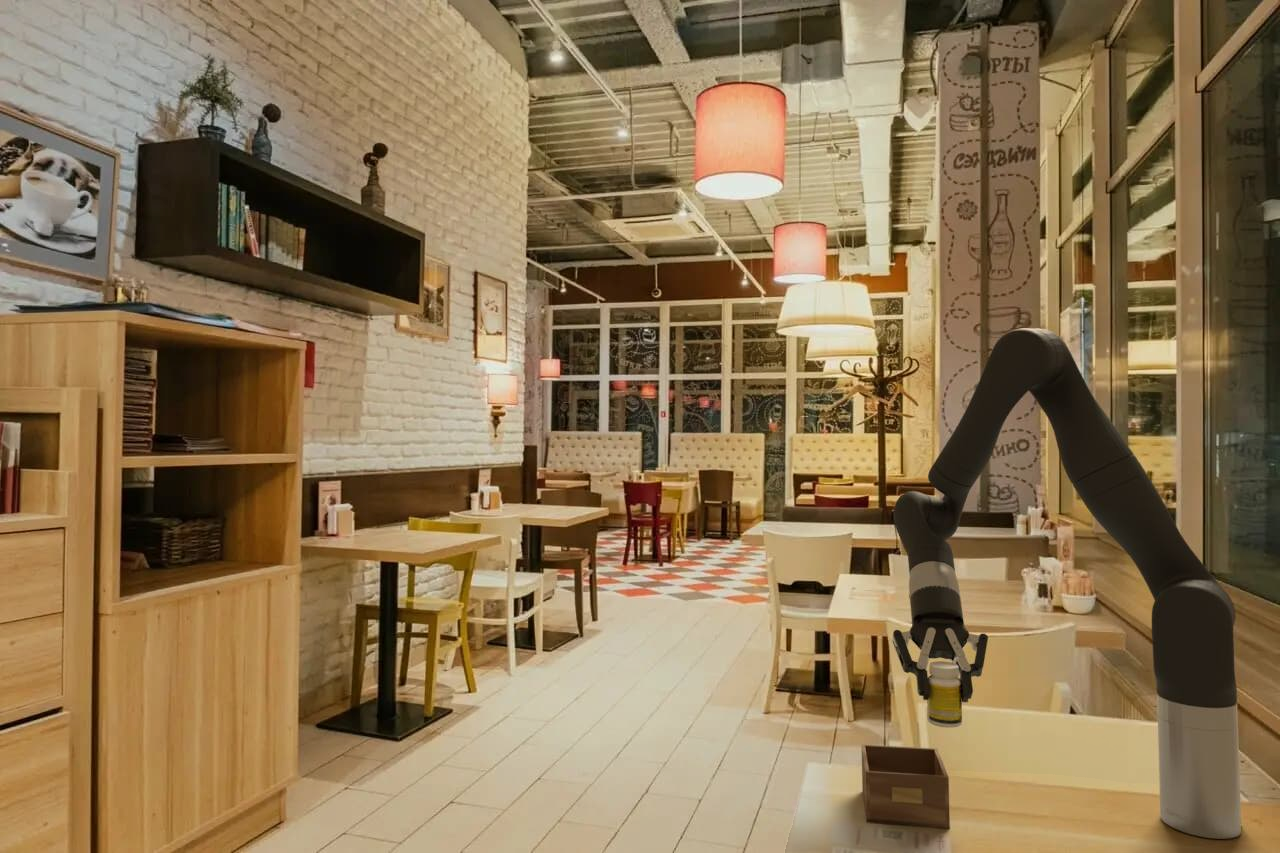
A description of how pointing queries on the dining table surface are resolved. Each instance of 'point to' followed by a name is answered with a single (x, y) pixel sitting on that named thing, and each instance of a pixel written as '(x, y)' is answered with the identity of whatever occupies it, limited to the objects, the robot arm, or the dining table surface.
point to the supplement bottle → (944, 695)
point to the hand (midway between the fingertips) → (946, 698)
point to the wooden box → (905, 786)
